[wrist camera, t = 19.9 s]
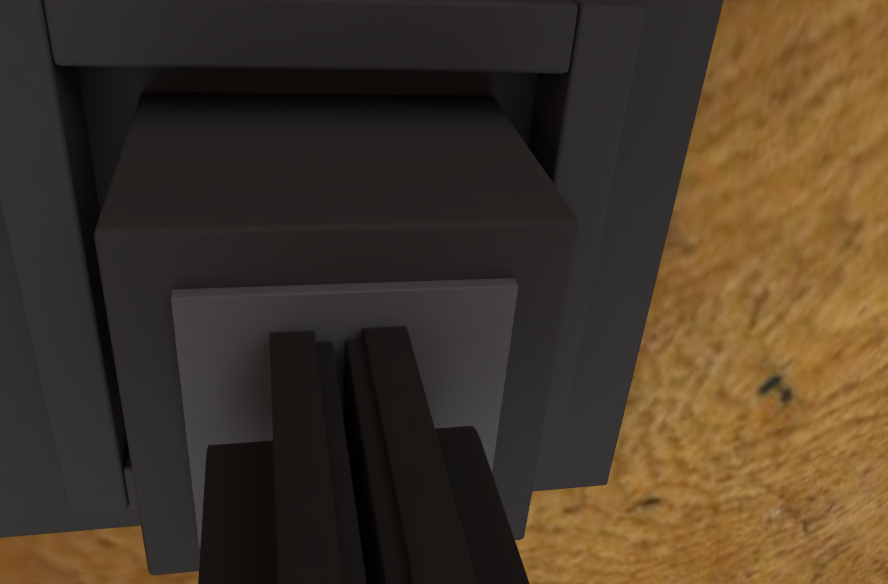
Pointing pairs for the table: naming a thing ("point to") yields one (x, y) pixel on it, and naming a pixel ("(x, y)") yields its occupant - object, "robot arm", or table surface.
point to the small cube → (324, 275)
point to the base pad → (338, 73)
